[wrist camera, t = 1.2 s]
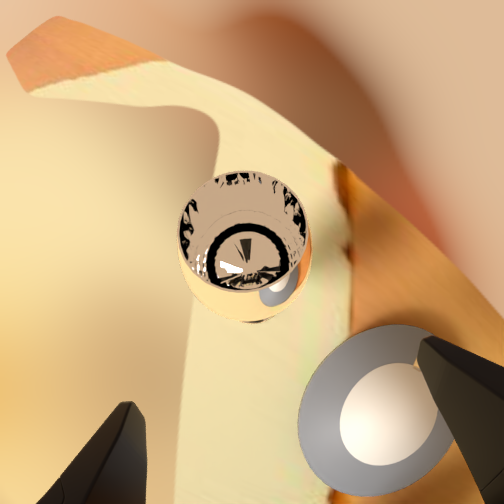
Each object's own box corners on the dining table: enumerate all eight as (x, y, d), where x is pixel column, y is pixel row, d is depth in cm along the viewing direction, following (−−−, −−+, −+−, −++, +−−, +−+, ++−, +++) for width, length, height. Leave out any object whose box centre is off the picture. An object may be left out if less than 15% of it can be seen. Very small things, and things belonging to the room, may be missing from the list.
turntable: (403, 508, 15) (407, 512, 14) (261, 453, 18) (260, 457, 17) (481, 366, 19) (487, 366, 18) (356, 293, 21) (360, 291, 20)
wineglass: (301, 266, 23) (337, 179, 11) (280, 342, 21) (302, 331, 10) (226, 245, 23) (195, 146, 12) (201, 319, 22) (138, 280, 10)
